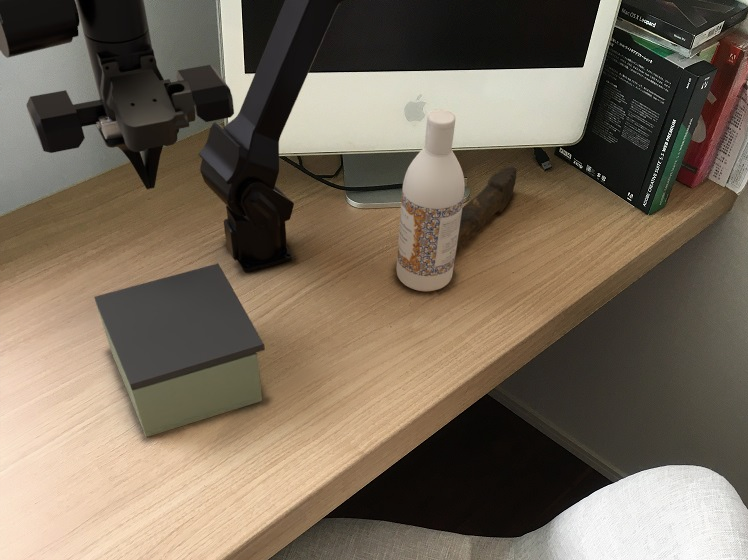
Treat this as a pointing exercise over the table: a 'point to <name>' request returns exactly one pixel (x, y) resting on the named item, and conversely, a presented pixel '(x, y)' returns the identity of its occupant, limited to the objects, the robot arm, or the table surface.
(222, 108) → the robot arm
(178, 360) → the box lid
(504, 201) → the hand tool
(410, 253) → the bath foam
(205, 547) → the table surface
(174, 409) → the open box
